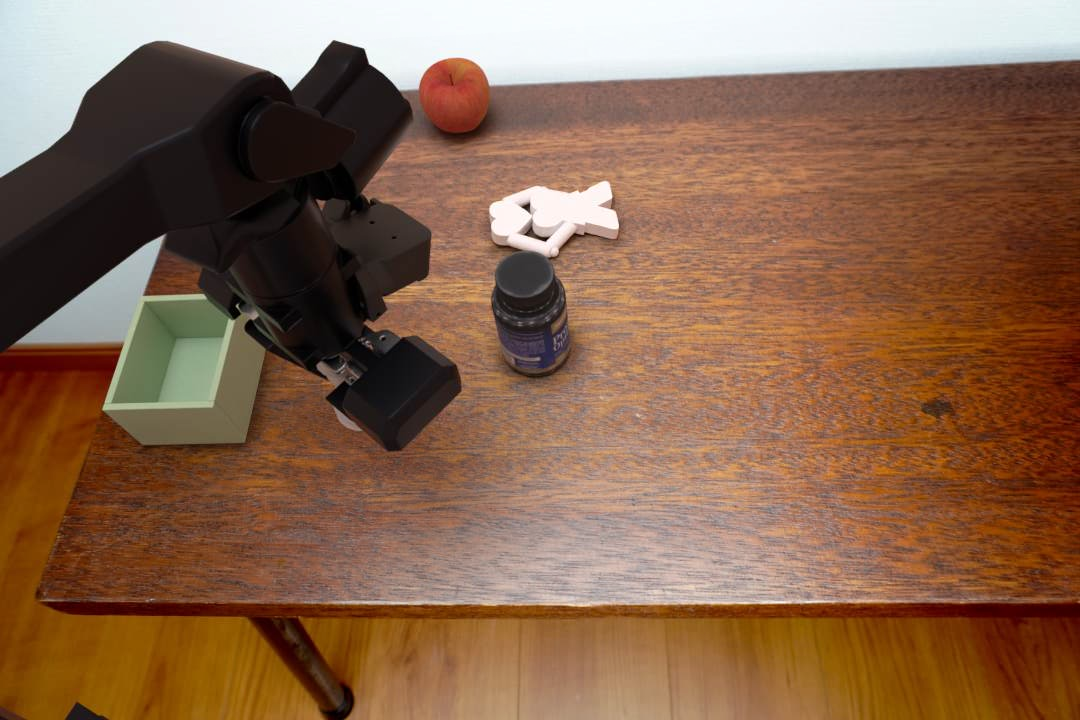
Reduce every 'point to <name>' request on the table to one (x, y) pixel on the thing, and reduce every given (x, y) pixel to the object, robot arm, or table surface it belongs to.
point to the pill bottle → (530, 314)
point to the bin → (185, 373)
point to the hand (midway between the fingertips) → (360, 395)
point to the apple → (455, 94)
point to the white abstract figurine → (552, 217)
